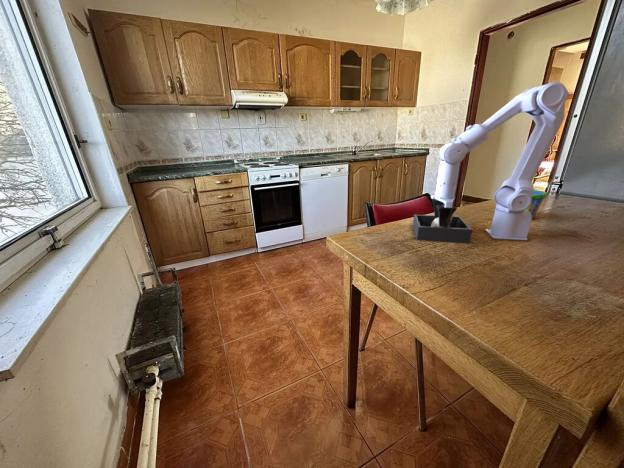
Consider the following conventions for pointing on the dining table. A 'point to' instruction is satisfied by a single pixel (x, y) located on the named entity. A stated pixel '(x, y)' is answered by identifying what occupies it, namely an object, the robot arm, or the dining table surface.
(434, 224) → the chocolate bunny
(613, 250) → the dining table surface
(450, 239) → the bin
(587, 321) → the dining table surface
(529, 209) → the snack cup
